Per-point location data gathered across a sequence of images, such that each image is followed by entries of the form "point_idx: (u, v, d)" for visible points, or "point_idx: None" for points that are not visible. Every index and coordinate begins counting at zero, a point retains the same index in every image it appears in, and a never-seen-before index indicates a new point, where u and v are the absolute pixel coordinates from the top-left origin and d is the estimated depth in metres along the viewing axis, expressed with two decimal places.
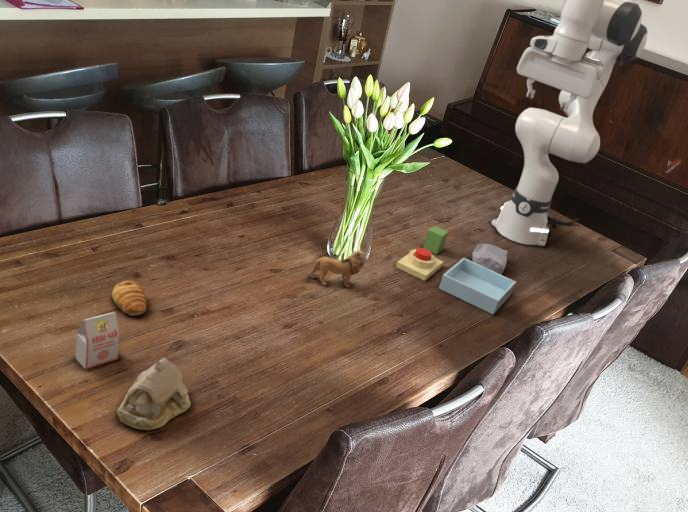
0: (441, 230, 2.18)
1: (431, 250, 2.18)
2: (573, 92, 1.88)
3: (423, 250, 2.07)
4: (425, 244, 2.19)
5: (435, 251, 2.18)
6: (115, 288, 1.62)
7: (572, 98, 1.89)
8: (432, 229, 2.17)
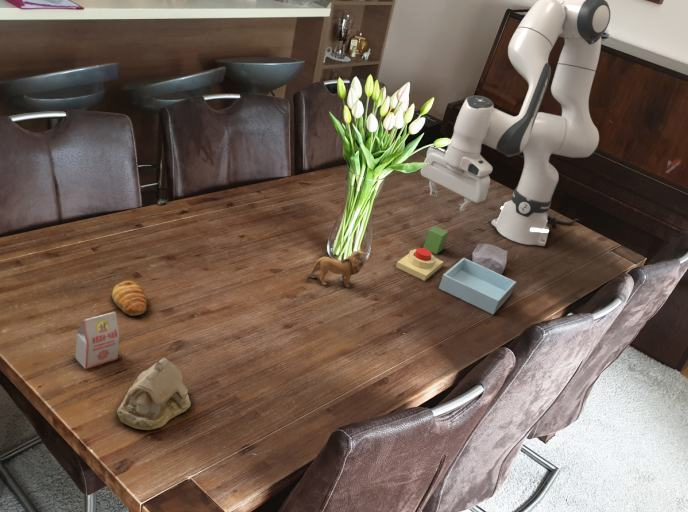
0: (441, 230, 2.18)
1: (431, 250, 2.18)
2: None
3: (423, 250, 2.07)
4: (425, 244, 2.19)
5: (435, 251, 2.18)
6: (115, 288, 1.62)
7: None
8: (432, 229, 2.17)
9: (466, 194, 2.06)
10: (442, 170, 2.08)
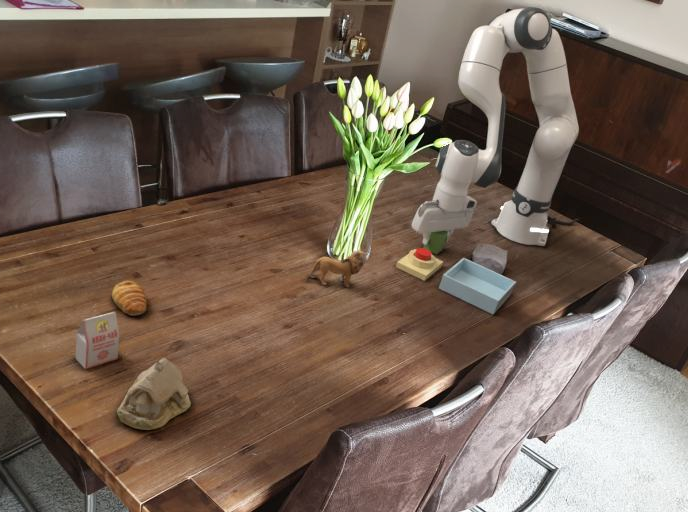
0: None
1: (431, 250, 2.18)
2: None
3: (423, 250, 2.07)
4: None
5: (435, 251, 2.18)
6: (115, 288, 1.62)
7: None
8: None
9: (458, 226, 2.19)
10: (438, 219, 2.12)
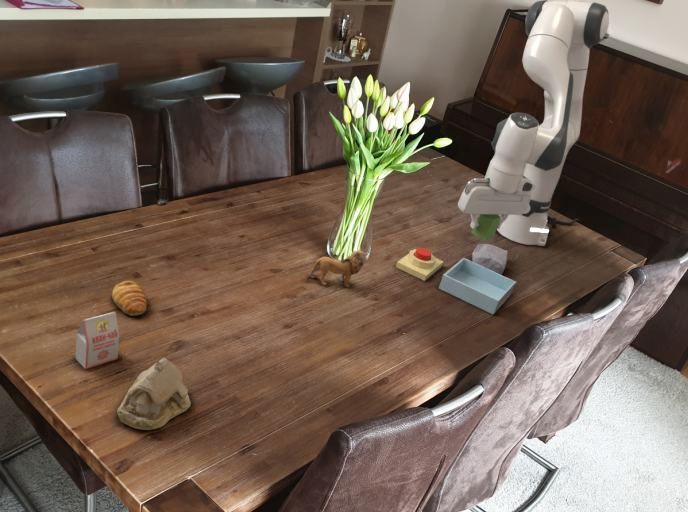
0: (493, 214, 1.97)
1: (480, 236, 1.97)
2: None
3: (423, 250, 2.07)
4: (474, 229, 1.98)
5: (484, 237, 1.97)
6: (115, 288, 1.62)
7: None
8: None
9: (513, 211, 1.97)
10: (488, 199, 1.91)
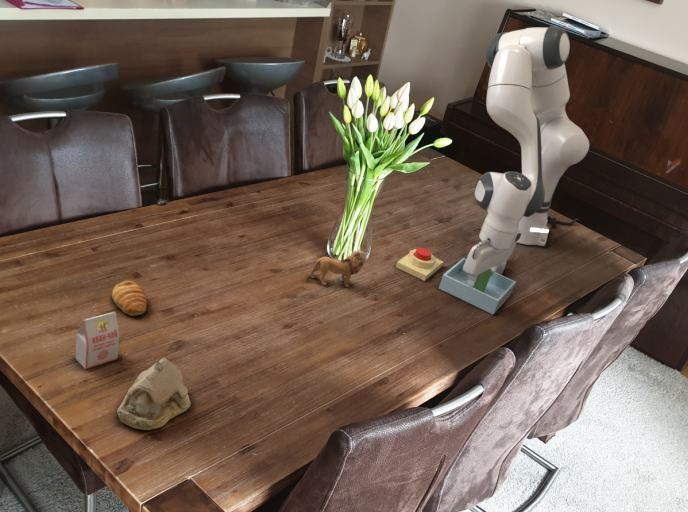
0: None
1: None
2: None
3: (423, 250, 2.07)
4: None
5: None
6: (115, 288, 1.62)
7: None
8: None
9: (503, 260, 2.03)
10: (489, 257, 1.95)
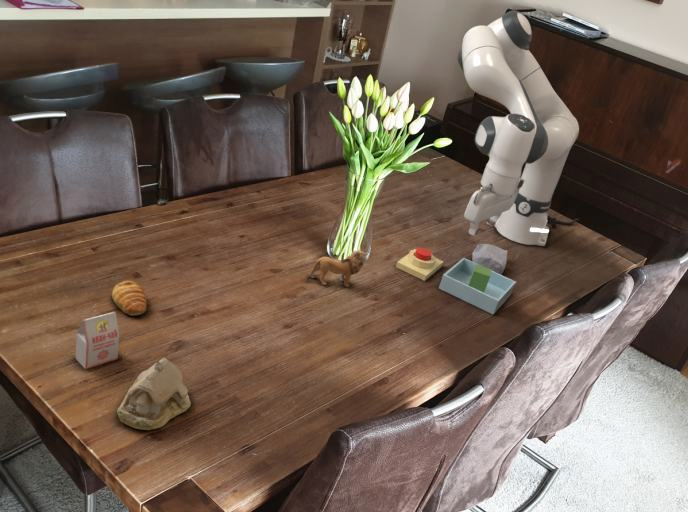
0: (485, 269, 2.02)
1: None
2: None
3: (423, 250, 2.07)
4: None
5: None
6: (115, 288, 1.62)
7: None
8: (476, 269, 2.00)
9: (505, 209, 1.97)
10: (491, 204, 1.88)
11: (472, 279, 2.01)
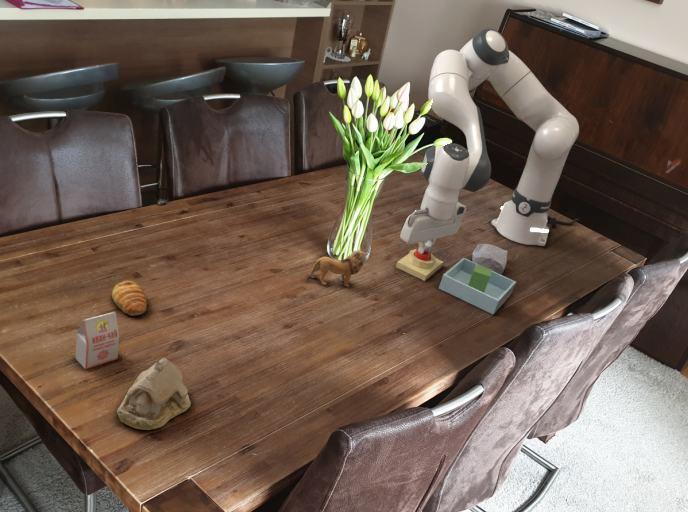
0: (485, 269, 2.02)
1: None
2: None
3: None
4: None
5: None
6: (115, 288, 1.62)
7: None
8: (476, 269, 2.00)
9: (447, 233, 2.06)
10: (427, 227, 1.99)
11: (472, 279, 2.01)
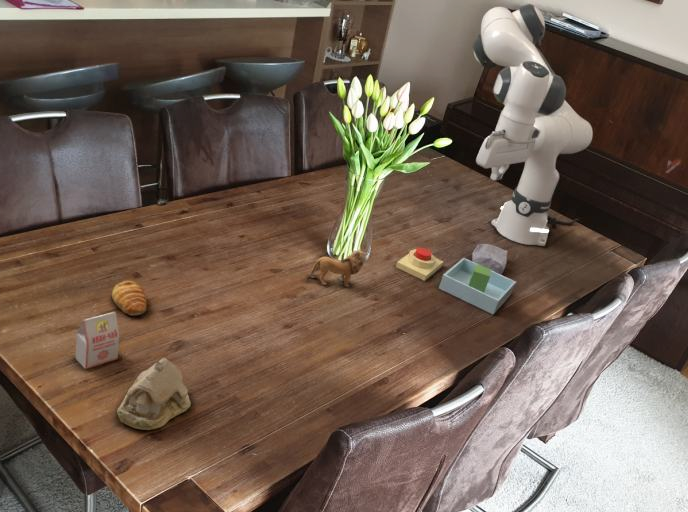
0: (485, 269, 2.02)
1: None
2: None
3: (423, 250, 2.07)
4: None
5: None
6: (115, 288, 1.62)
7: None
8: (476, 269, 2.00)
9: (520, 159, 2.00)
10: (503, 151, 1.93)
11: (472, 279, 2.01)
